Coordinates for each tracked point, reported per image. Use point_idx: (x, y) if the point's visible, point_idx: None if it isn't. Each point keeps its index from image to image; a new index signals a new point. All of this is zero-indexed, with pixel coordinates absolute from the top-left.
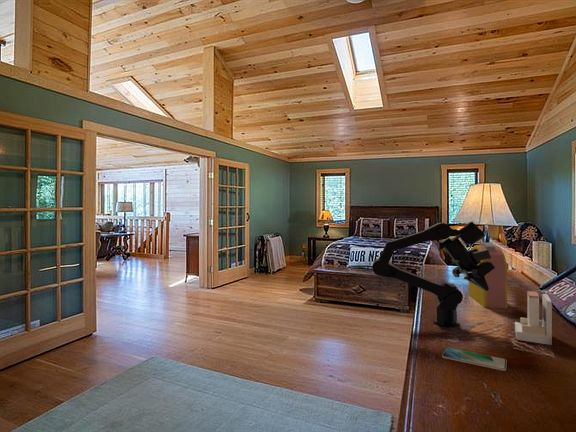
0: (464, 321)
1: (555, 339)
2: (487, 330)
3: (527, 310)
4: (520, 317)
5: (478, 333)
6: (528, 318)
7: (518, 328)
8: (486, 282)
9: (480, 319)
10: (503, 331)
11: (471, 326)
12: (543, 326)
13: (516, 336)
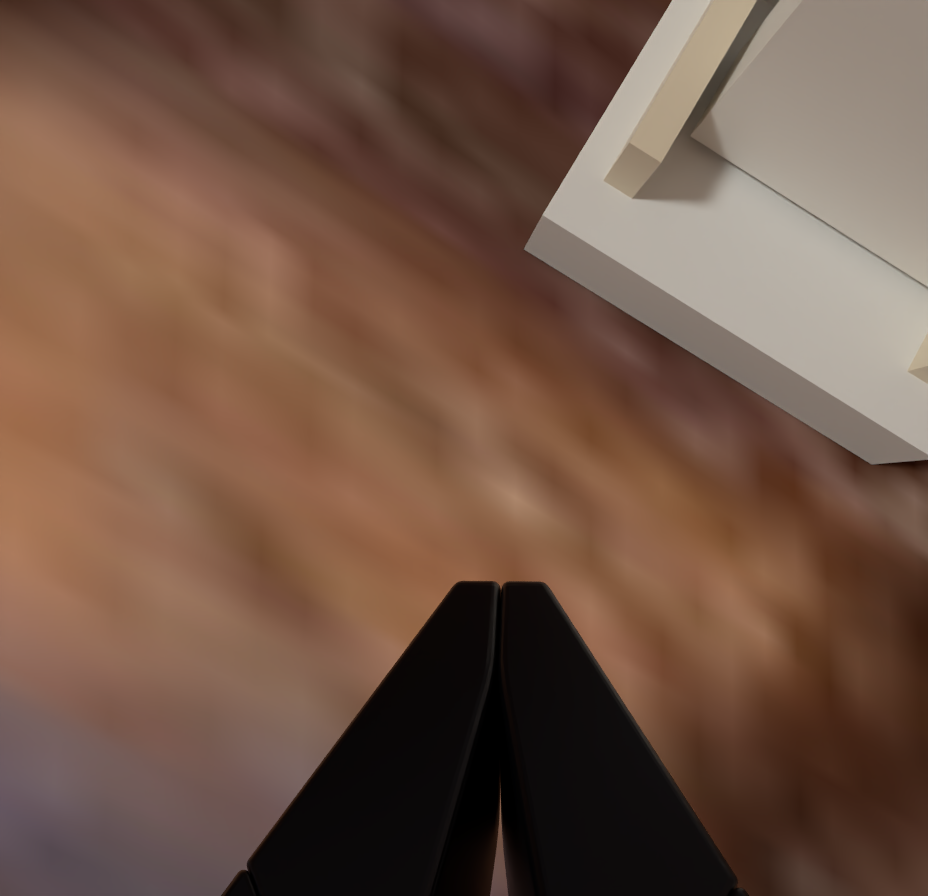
0: (170, 753)
1: None
2: None
3: (799, 23)
4: (635, 143)
5: None
6: (926, 179)
7: (819, 353)
8: (683, 801)
9: (83, 460)
10: (600, 442)
11: None
12: None
13: (894, 462)
